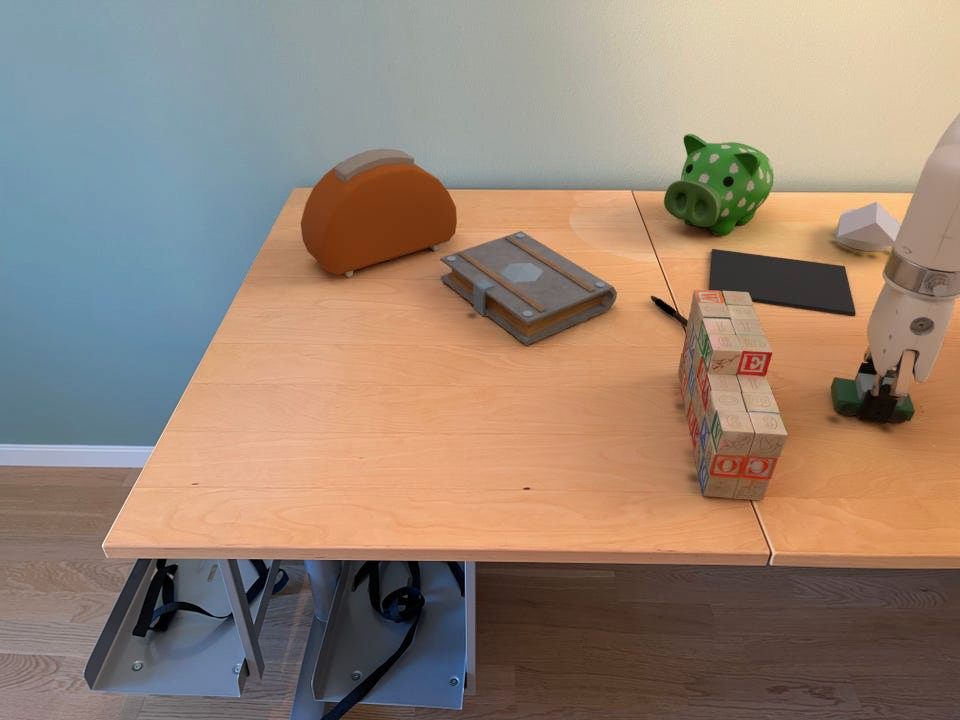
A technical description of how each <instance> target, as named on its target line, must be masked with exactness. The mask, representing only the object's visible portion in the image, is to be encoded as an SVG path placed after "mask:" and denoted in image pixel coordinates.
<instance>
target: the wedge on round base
mask: <svg viewBox="0 0 960 720" xmlns="http://www.w3.org/2000/svg"><path fill="white" fill-rule="evenodd" d="M900 227H901V223H900V221H899V220H898V219H896V218H895V217H893V216H892V215H891V214H890V212H888V211H887V210H886V209H885V208H884V207H883V206H882V205H881V204H880V202H878V201H875V202H874V201H873V202H872V203H869V204H867V205H864V206H861V207H859V208H852V209H851V208H850V209H847V210H844V211H842V212H841V213H840V217H839V219H838V222H837V225H836V228H835V231H834V237H835V239H836V240H837V241H838V242H840V243H841V244H842V245H844V246H846V247H848V248H851V249H855V250H859V251H864V252H875V253H877V252H879V253H880V252H886V251H889V250H890V249H892V247H893V245H894V242H895V240H896V237H897V234H898V232H899V229H900Z"/></svg>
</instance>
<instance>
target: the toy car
mask: <svg viewBox="0 0 960 720" xmlns="http://www.w3.org/2000/svg"><path fill="white" fill-rule="evenodd" d="M857 373H858V372H857ZM856 375H857V374H856ZM875 377H876V375H871V374H864V373H858V375H857V377H856V376H855V378H856V380H855V379H849V378H843V377H837V376H834V377H833V380H832V382H831V384H830V392H831V396H832V401H833V405H834V406H833V407H834V410H835V411H838V412H839V413H840V414H841V415H842V416H845V417H852V416H854V415H856V414H858V411H859V409H860V406H861V404H862V402H863V399H864V397H865V395H866V392H867V390H868V389H869V390H872V386H873V383H874V380H875ZM893 382H894V378H889V377H884V380H883V383H882V385H884V384H893ZM909 392H910V391H909ZM909 392H908V396H907V397H906V398H903V397H901V399H900V400H898V402H897V404H896V406H895V409H894V411H893V413H892V415H891V417H890V419H889V421H888V422H889V423H892V424H894V425H895V424H896V425H898V424H903V423H905V422H911V421H912V420H913V417H914V414H915V413H916V410H915V407H914V404H913V401H912V398H911V396H910V395H911V394H910V393H909Z"/></svg>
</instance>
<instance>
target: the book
mask: <svg viewBox="0 0 960 720" xmlns="http://www.w3.org/2000/svg"><path fill="white" fill-rule="evenodd" d="M439 261H440V262H442V263H444V264H445V265H446V266H447V267H449V268H450V269H451V272H449V273H446V274H442V275H440V280H441V281H442V282H443V283H445V284H446V285H448V286H449V287H450V288H451V289H453V290H454V291H455V292H456V293H458V294H459V295H460V296H462V297H463V298H465V299H466V300H467V301H468V302H469V303H471V304H472V305H473V310H475V311H476V312H477V313H478V314H480V315H481V316H482V317H484V318H485V317H488V318H490V319H492V320H493V321H494V322H495V323H497V324H498V325H499V326H500V327H502V328H503V329H504V330H506V331H507V332H508V333H510V334H511V335H512V336H514V337H515V338H516V339H517V340H519V341H520V342H521V343H522V344H524V345H525V346H528V345H530V344H533V343H535V342H537V341H540V340H542V339H545V338H546V337H549V336H551V335H554V334H556V333H558V332H561V331H563V330H565V329H568V328H570V327H573V326H575V325H578V324H580V323H582V322H584V321H587V320H589V319H591V318H594V317H596V316H598V315H600V314H603V313H605V312H608V311H610V310H611V309H612V307H613V306H614V304H615V302H616V300H617V296H618V292H617V290H616V288H615V287H614V286H613V285H611V284H610V283H608V282H606V281H605V280H603V279H601V278H599V277H598V276H596V275H595V274H593V273H591V272H590V271H588V270H587V269H585V268H583V267H581V266H580V265H578V264H576V263H575V262H573V261H571V260H570V259H568V258H566V257H565V256H563V255H562V254H560V253H558V252H557V251H555V250H553V249H552V248H550V247H549V246H546V245H545V244H544V243H542V242H540V241H538V240H536V239H535V238H533V237H532V236H530V235H528V234H527V233H525V232H523V231H522V230H520V231H517V232H514V233H511V234H508V235H505V236H501V237H499V238H497V239H493V240H491V241H490V240H489V241H486V242H484V243H480V244H477V245H475V246H472V247H471V246H470V247H469V248H466V249H463V250H460V251H457V252H453V253H450V254H447V255H444V256H441V257H440V258H439Z"/></svg>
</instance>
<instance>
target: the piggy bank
mask: <svg viewBox="0 0 960 720" xmlns="http://www.w3.org/2000/svg"><path fill="white" fill-rule="evenodd" d="M682 141H683V144H684V148H685V151H686V152H685V153H686V158H685V162H684V164H683V167H682V171H681V175H680V180H676V181H674V182H671V184H670V185H669V186H668V187H667V188H666V191H665V193H664V197H663V206H664V208H665V210H666V211H667V212H668V213H669V214H670V215H671V216H672V217H674V218H676V219H678V220H680V221H683V222H684V223H685V224H688V225H690V226H696V227H700V228H709V229H710V230H711V233H712V234H713V235H716V236H719V237H724V236H727V235H729V234H731V232H733V231H734V229H735V226H736V225H737V226H738V225H739V226H743V225H746V224H748V223H749V222H750V221H751V220H752V219H753V218H754V217H755V214H756V212H757V210H758V209H759V208H760V207H761V206H762V205H763V204H764V203H765V201H767V199H768V197H769V196H770V193H771V192H772V189H773V186H774V178H775V177H774V171H773V170H774V169H773V166H772V164H771V161H770V159H769V157H768V156H767V154H765V153H764V152H762V151H761V150H759V149H757V148H755V147H753V146H752V145H748V144H744V143H741V142H733V141H732V142H731V141H728V142H727V141H726V142H706V141H705V140H704V139H702V138H700V137H699V136H698V135H696V134H693V133H688V134H685V135H683V140H682Z"/></svg>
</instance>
